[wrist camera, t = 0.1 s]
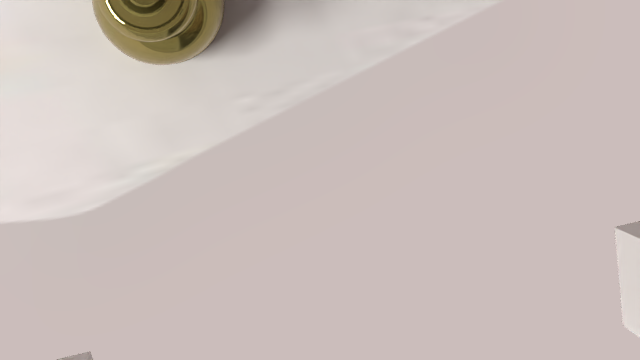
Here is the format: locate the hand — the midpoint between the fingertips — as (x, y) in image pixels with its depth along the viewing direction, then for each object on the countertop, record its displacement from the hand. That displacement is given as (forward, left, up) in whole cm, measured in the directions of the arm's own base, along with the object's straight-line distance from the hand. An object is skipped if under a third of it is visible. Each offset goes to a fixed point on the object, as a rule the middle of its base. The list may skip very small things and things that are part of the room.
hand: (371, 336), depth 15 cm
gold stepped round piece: (-11, -5, -28) cm, 31 cm away
